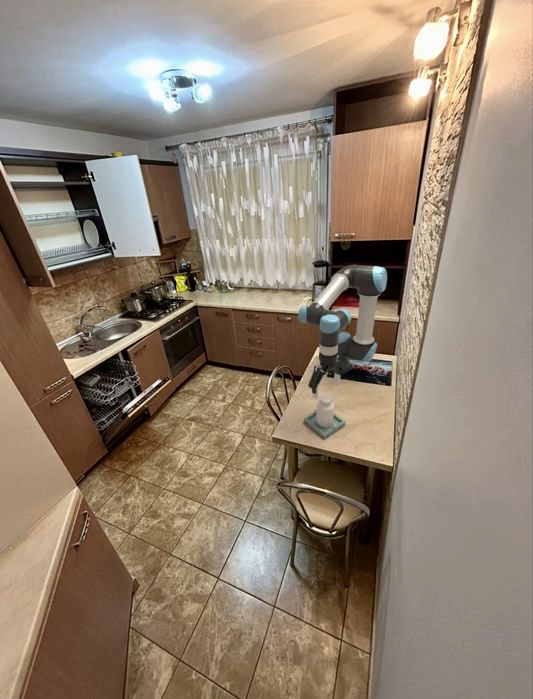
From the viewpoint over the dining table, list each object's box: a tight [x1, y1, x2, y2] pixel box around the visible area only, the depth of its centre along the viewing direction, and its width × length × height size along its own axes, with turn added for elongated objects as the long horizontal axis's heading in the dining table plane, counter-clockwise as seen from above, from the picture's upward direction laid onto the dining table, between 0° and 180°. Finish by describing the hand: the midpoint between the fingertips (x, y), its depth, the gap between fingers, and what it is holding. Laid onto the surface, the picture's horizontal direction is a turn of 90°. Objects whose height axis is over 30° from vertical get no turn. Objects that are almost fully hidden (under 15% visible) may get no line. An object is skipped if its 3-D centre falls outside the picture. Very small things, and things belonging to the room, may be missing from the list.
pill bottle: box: [316, 394, 335, 428], centre depth 131 cm, size 8×8×15 cm
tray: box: [303, 408, 346, 440], centre depth 134 cm, size 14×14×4 cm
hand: (326, 391), depth 126 cm, fingers open, 13 cm apart
